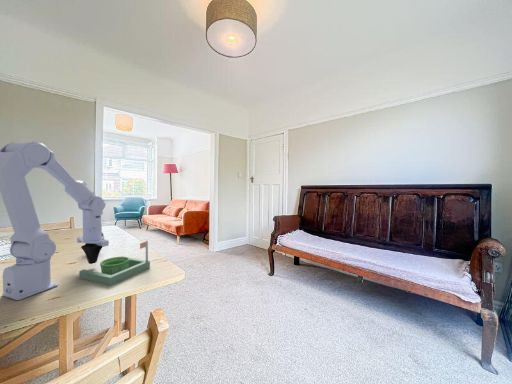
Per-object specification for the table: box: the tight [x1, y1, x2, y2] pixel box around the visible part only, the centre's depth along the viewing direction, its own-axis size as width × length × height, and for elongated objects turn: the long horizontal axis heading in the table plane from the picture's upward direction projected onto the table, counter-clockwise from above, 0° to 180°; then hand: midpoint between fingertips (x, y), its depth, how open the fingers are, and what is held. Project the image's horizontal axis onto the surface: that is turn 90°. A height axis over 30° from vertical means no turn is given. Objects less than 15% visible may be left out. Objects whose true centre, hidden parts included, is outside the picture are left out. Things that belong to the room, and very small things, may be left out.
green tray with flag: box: [78, 240, 151, 286], centre depth 79 cm, size 16×14×10 cm
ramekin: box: [99, 256, 130, 275], centre depth 80 cm, size 9×9×4 cm
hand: (92, 262), depth 83 cm, fingers closed
